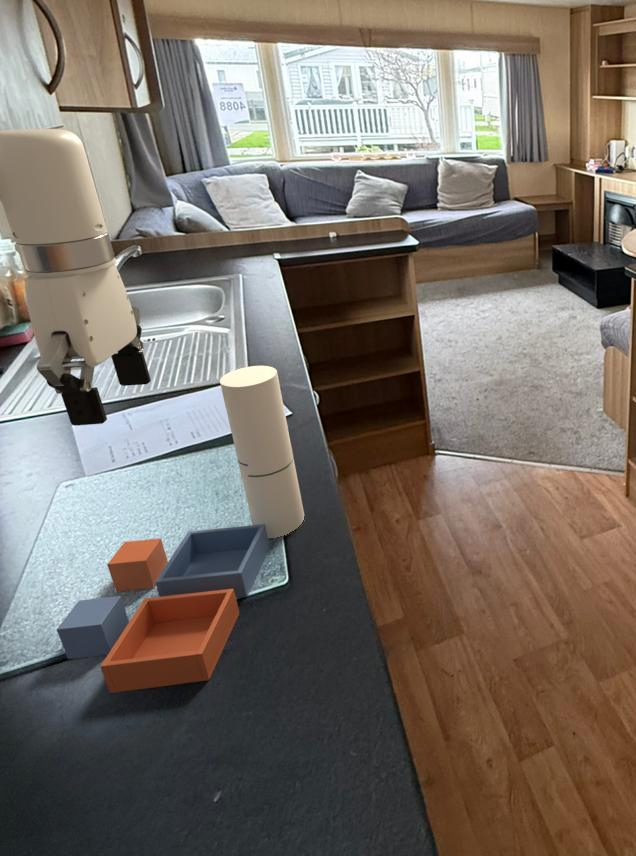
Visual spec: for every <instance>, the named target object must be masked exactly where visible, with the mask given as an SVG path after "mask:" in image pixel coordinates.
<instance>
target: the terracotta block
mask: <svg viewBox="0 0 636 856" xmlns="http://www.w3.org/2000/svg"><path fill="white" fill-rule="evenodd" d="M168 562H169V560H168V557H167V554H166V550H165V547H164V543H163V540H162V538H161V537H160V538H151V539H140V540H139V539H138V540H129V541H124V542H123V543H122V545H121V546H120V547H119V548H118V549H117V551H116V552H115V554H114V555H113V556H112V558H111V559H110V560H109V562H107V569H108V571H109V575H110V578H111V580H112V584H113V586H114V590H115V592H116V593H119V592H120V593H121V592H130V591H139V590H147V589H154V588H155V587H156V583H155V582H156V580H157V579H158V577H159V576H160V574H161V573H162V571H163V570H164V568H165V566H166V565H167V563H168Z"/></svg>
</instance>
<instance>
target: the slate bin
mask: <svg viewBox="0 0 636 856" xmlns="http://www.w3.org/2000/svg"><path fill="white" fill-rule="evenodd" d="M270 547H271V546H270V541H269V539H268V536H267V531H266V527H265V524H261V525H242V526H232V527H222V528H221V527H219V528H211V529H201V530H190V531H187V533H186V534H185V535H184V537H183V539H182V540H181V542H180V543H179V545H178V546H177V548H176V550H175V551H174V552H173V554H172V556H171V557H170V559H169V560H168V563H167V565H166V566H165V568H164V570H163V571H162V573H161V574H160V576H159V577H158V579H157V580H156V582H155V583H156V585H155V587H156V589H157V592H158V597H162V596H172V595H181V594H190V593H199V592H208V591H217V590H226V589H234V593H235V597H236V599H240V598H241V599H242V598H247V597H248V596H249V593H250V591H251V589H252V587H253V585H254V582H255V580H256V578H257V576H258V575H259V571H260V569H261V567H262V565H263V563H264V560H265V558H266V556H267V554H268V552H269V550H270Z"/></svg>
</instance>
